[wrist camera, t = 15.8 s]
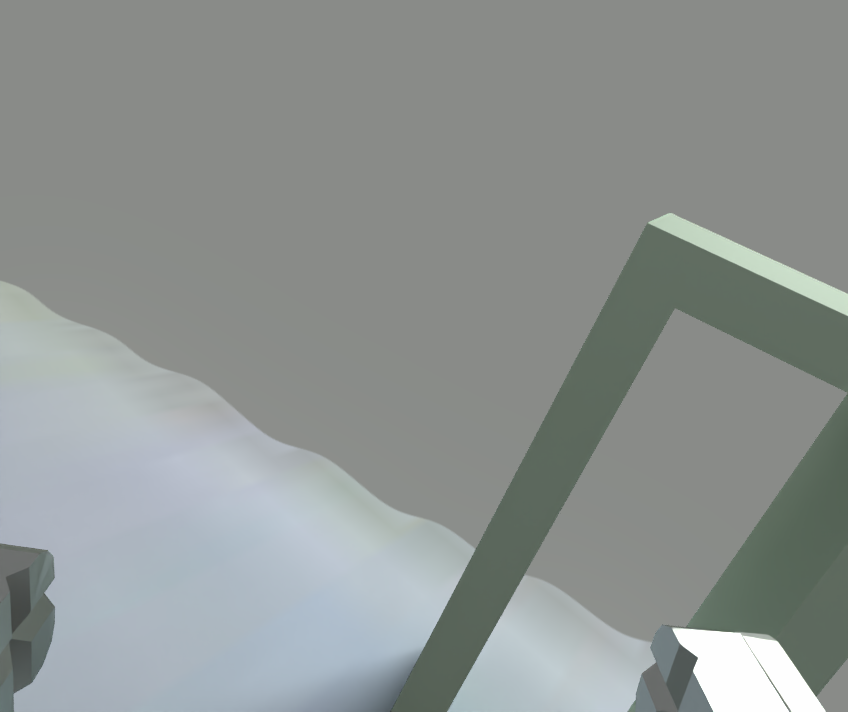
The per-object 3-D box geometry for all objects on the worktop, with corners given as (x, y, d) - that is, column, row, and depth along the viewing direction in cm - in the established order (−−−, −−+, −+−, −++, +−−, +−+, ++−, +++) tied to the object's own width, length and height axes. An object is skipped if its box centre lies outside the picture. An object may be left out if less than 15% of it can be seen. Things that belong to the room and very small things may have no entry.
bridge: (361, 767, 32) (647, 222, 23) (441, 640, 41) (670, 212, 32) (609, 950, 29) (1050, 409, 20) (637, 770, 38) (950, 341, 29)
